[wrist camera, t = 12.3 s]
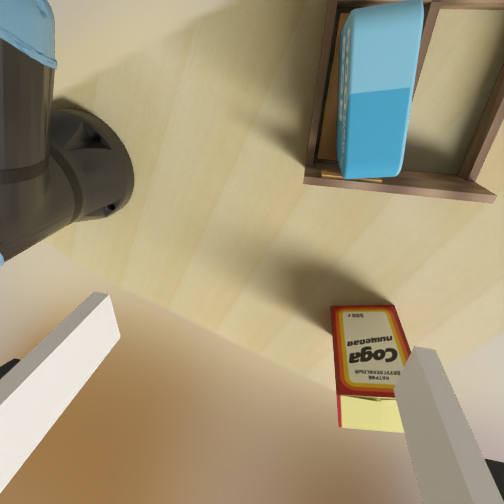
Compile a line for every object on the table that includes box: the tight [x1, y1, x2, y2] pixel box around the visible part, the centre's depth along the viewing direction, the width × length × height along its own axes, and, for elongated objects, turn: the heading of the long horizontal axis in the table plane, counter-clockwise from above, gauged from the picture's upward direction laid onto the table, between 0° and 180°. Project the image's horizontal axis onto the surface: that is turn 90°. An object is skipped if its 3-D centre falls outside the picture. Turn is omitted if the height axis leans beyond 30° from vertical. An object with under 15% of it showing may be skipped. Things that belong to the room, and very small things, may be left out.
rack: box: [303, 0, 504, 203], centre depth 28 cm, size 18×17×7 cm
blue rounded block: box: [336, 0, 424, 179], centre depth 26 cm, size 12×4×12 cm, turn 6°
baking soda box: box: [331, 305, 411, 433], centre depth 40 cm, size 10×6×16 cm
